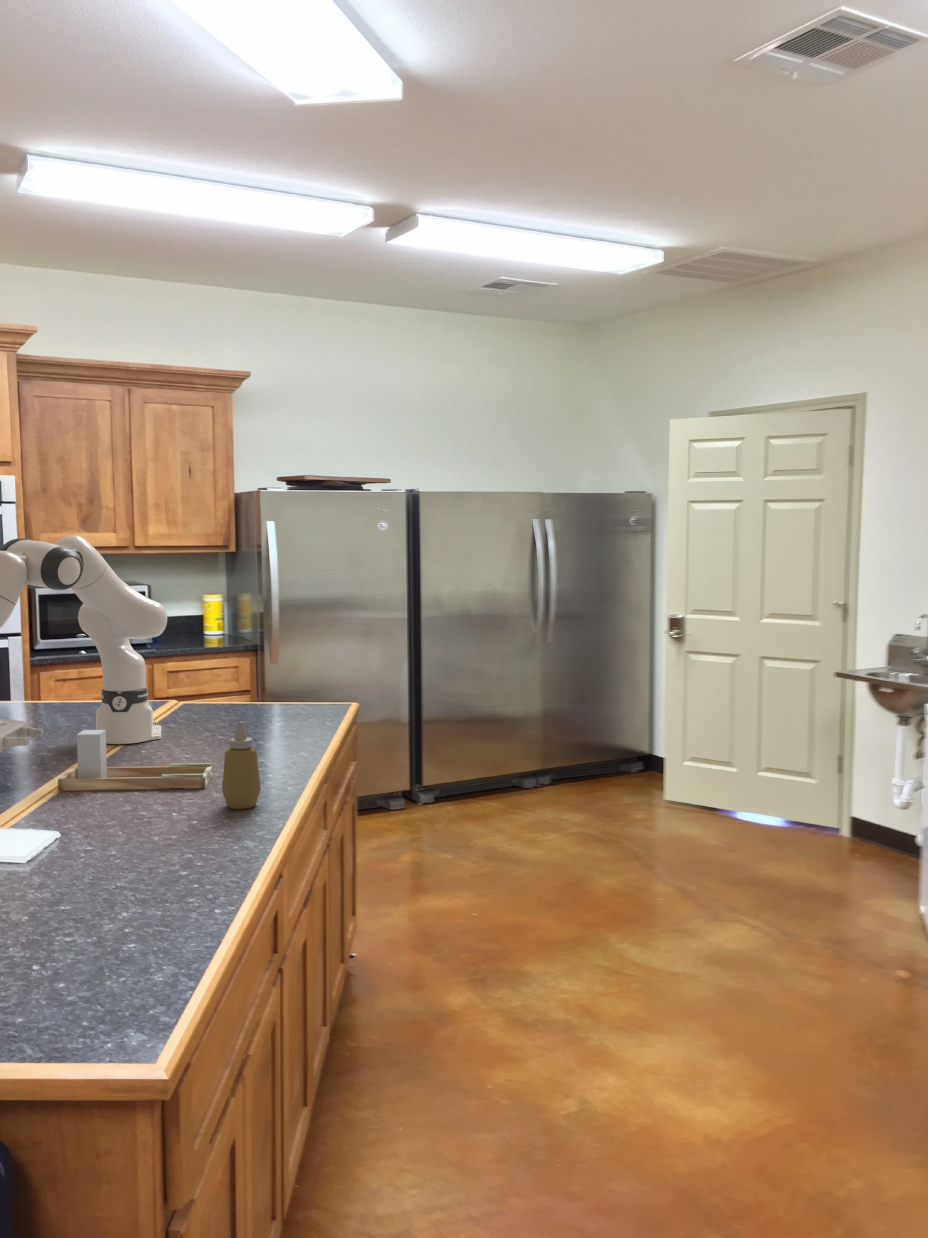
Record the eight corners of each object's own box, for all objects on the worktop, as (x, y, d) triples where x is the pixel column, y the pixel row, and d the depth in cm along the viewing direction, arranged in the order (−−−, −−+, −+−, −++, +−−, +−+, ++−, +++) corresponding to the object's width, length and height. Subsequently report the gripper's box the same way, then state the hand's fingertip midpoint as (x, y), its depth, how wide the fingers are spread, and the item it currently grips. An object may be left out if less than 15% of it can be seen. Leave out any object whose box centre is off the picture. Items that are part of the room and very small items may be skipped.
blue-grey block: (84, 781, 229) (83, 730, 228) (107, 781, 230) (105, 729, 228) (78, 787, 224) (76, 734, 223) (101, 786, 225) (99, 734, 224)
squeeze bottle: (268, 803, 212) (267, 719, 211) (248, 813, 205) (247, 727, 203) (235, 799, 215) (234, 717, 213) (214, 809, 207) (212, 724, 206)
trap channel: (73, 778, 232) (72, 765, 232) (212, 775, 235) (212, 763, 235) (58, 790, 221) (57, 777, 221) (205, 788, 224) (204, 774, 224)
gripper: (-49, 732, 212) (19, 732, 214) (-12, 715, 233) (49, 715, 234) (-48, 761, 213) (19, 760, 214) (-12, 742, 233) (49, 741, 235)
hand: (35, 737), depth 224 cm, fingers open, 8 cm apart
